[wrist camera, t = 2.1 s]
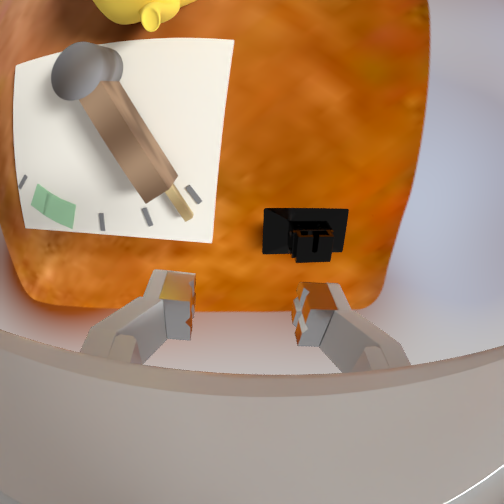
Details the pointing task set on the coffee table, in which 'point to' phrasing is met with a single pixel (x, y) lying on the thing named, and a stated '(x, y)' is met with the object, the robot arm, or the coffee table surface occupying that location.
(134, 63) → the dial plate
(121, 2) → the teapot
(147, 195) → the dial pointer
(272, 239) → the black flanged block
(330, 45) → the coffee table surface
